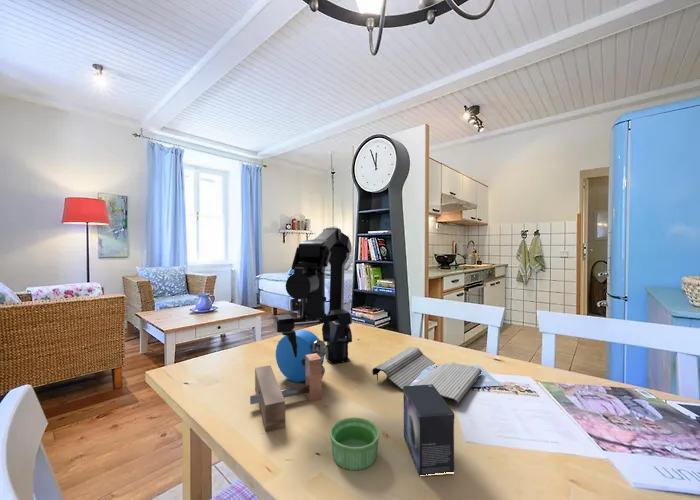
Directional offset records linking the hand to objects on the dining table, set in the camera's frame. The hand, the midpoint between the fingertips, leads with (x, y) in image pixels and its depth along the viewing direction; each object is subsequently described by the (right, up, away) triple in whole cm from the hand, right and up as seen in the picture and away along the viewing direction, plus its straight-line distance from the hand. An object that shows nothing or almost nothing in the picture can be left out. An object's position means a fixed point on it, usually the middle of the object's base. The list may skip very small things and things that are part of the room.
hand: (313, 354), depth 75 cm
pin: (-6, -11, -3) cm, 13 cm away
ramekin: (+10, -11, -21) cm, 26 cm away
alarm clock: (-11, -3, +13) cm, 18 cm away
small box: (+23, -11, -20) cm, 33 cm away
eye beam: (-10, -11, -4) cm, 15 cm away
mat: (+31, -11, +10) cm, 35 cm away
